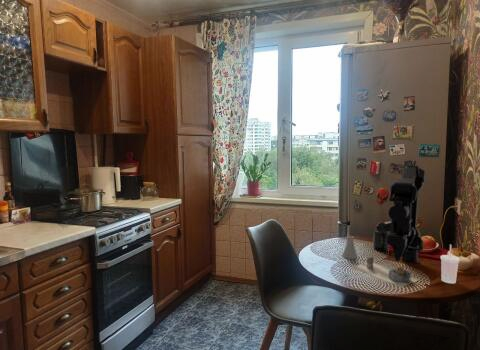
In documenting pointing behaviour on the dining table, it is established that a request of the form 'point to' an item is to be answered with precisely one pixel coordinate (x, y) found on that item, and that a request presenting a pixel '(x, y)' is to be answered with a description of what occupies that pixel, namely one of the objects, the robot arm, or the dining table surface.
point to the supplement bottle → (380, 241)
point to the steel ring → (400, 276)
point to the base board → (382, 272)
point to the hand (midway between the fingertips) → (400, 257)
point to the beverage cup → (449, 268)
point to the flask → (350, 249)
